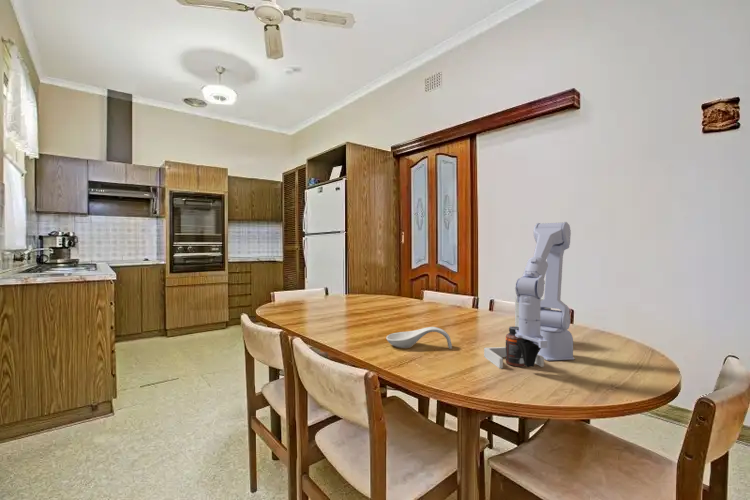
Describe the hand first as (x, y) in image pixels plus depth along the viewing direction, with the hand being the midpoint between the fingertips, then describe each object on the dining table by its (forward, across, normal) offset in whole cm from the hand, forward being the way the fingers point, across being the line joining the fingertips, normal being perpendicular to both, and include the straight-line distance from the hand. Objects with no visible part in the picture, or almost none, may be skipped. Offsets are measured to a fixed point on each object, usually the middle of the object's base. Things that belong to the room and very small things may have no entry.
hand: (529, 365), depth 101 cm
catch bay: (+2, -10, 0) cm, 10 cm away
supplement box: (+2, -31, +19) cm, 36 cm away
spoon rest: (+2, -30, -26) cm, 39 cm away
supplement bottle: (+2, -7, 0) cm, 8 cm away
